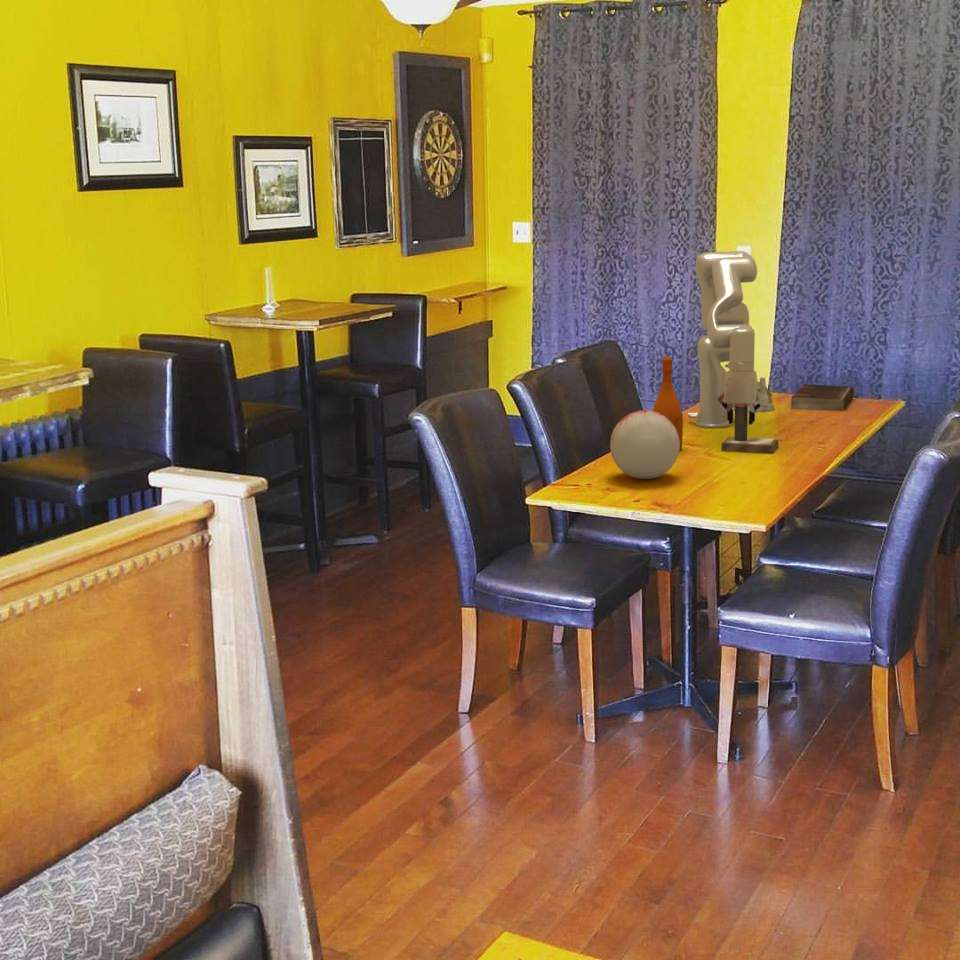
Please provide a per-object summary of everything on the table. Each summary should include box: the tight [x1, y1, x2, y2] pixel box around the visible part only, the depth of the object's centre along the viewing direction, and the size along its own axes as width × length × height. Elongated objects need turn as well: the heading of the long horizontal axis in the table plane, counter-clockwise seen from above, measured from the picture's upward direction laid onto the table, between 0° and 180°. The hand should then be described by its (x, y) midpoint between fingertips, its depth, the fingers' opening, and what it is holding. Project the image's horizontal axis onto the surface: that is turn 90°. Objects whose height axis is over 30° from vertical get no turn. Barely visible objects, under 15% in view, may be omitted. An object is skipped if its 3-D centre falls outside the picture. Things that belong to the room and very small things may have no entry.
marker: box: [733, 404, 749, 441], centre depth 389 cm, size 4×4×14 cm
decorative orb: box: [609, 409, 681, 480], centre depth 355 cm, size 21×20×20 cm
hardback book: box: [790, 383, 855, 412], centre depth 462 cm, size 29×19×5 cm, turn 157°
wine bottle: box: [652, 356, 684, 451], centre depth 390 cm, size 10×10×30 cm
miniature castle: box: [732, 376, 775, 414], centre depth 455 cm, size 16×16×15 cm
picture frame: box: [721, 436, 779, 455], centre depth 390 cm, size 16×10×3 cm, turn 66°
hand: (740, 423), depth 390 cm, fingers open, 5 cm apart
